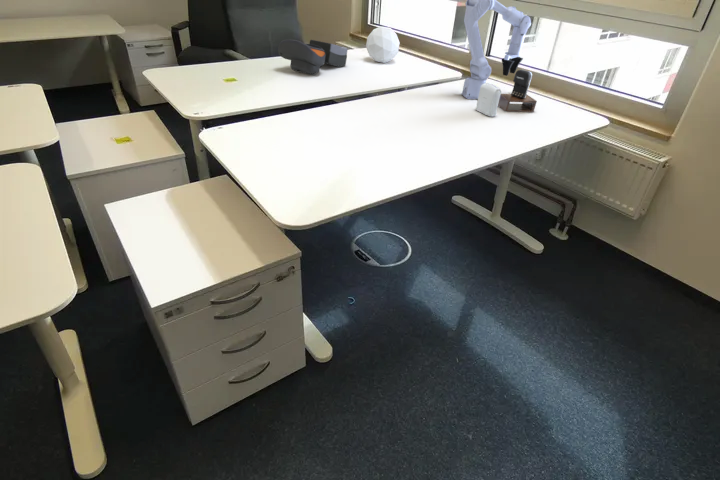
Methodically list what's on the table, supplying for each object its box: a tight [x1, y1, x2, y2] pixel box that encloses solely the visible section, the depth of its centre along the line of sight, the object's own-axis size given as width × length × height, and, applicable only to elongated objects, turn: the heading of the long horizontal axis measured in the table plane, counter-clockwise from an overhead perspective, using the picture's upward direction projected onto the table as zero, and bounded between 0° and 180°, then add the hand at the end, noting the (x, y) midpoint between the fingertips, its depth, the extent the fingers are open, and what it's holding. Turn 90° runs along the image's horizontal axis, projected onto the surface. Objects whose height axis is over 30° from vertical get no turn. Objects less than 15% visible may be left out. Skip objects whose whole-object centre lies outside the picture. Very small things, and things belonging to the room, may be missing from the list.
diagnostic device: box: [277, 38, 348, 75], centre depth 228 cm, size 38×17×22 cm
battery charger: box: [510, 69, 533, 98], centre depth 191 cm, size 7×4×11 cm, turn 38°
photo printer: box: [475, 82, 502, 118], centre depth 184 cm, size 10×4×12 cm, turn 26°
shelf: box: [498, 93, 538, 113], centre depth 195 cm, size 14×10×5 cm
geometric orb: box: [365, 26, 401, 64], centre depth 252 cm, size 19×20×20 cm
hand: (508, 74), depth 207 cm, fingers open, 7 cm apart
